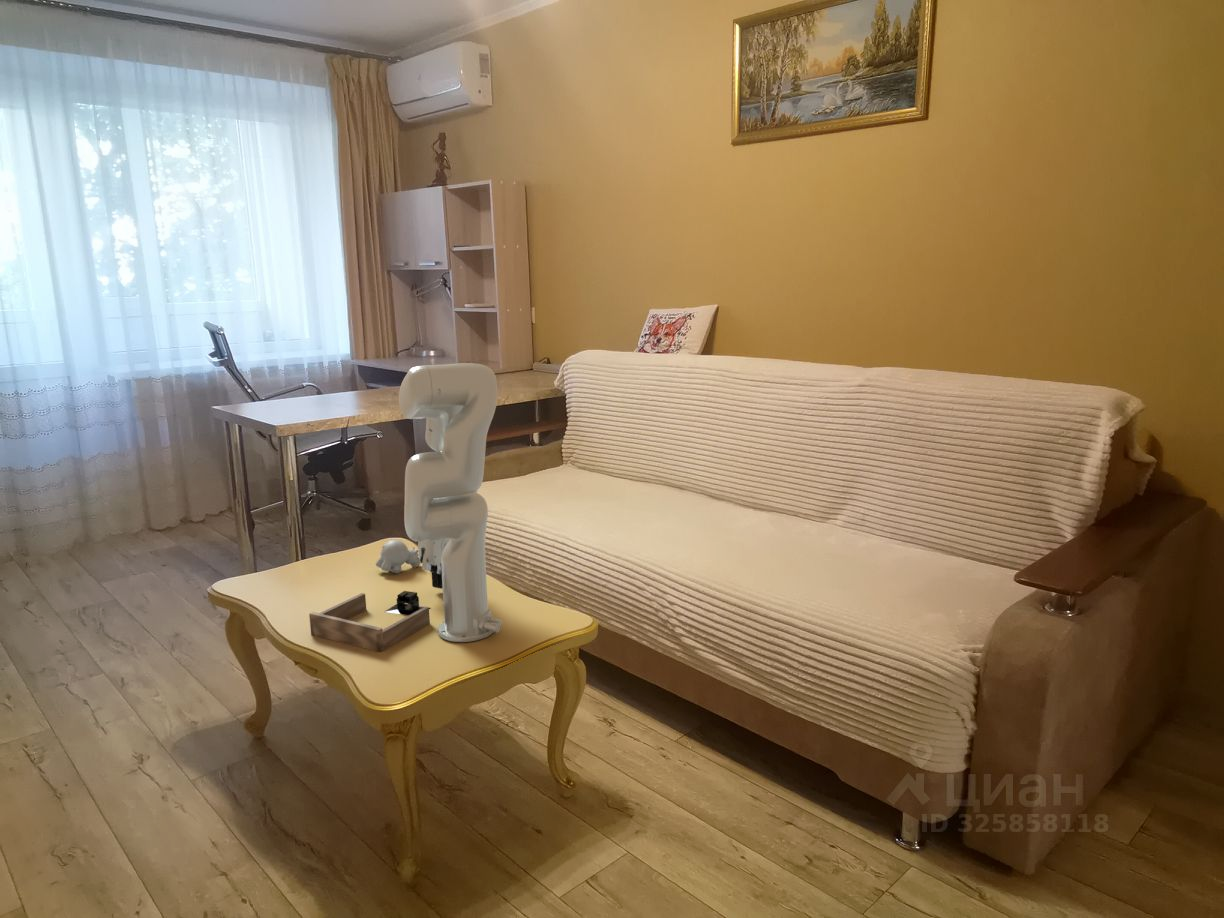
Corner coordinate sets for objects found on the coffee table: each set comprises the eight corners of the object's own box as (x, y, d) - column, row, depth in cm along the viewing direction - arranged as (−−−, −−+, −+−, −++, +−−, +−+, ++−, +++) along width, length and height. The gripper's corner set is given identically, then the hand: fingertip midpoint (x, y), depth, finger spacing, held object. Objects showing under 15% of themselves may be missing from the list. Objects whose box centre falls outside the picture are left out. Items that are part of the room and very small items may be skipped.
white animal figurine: (422, 580, 217) (432, 550, 217) (380, 572, 210) (390, 541, 210) (412, 571, 223) (422, 542, 223) (371, 564, 216) (381, 534, 216)
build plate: (377, 614, 190) (375, 596, 189) (395, 603, 196) (394, 585, 195) (423, 620, 186) (421, 601, 185) (439, 609, 192) (438, 590, 191)
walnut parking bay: (429, 623, 183) (428, 603, 182) (380, 652, 169) (378, 629, 168) (363, 608, 191) (361, 589, 190) (311, 634, 177) (309, 613, 176)
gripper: (427, 526, 189) (432, 599, 193) (466, 510, 202) (469, 579, 206) (402, 522, 192) (407, 594, 196) (442, 507, 205) (446, 575, 209)
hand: (439, 586), depth 201 cm, fingers closed
